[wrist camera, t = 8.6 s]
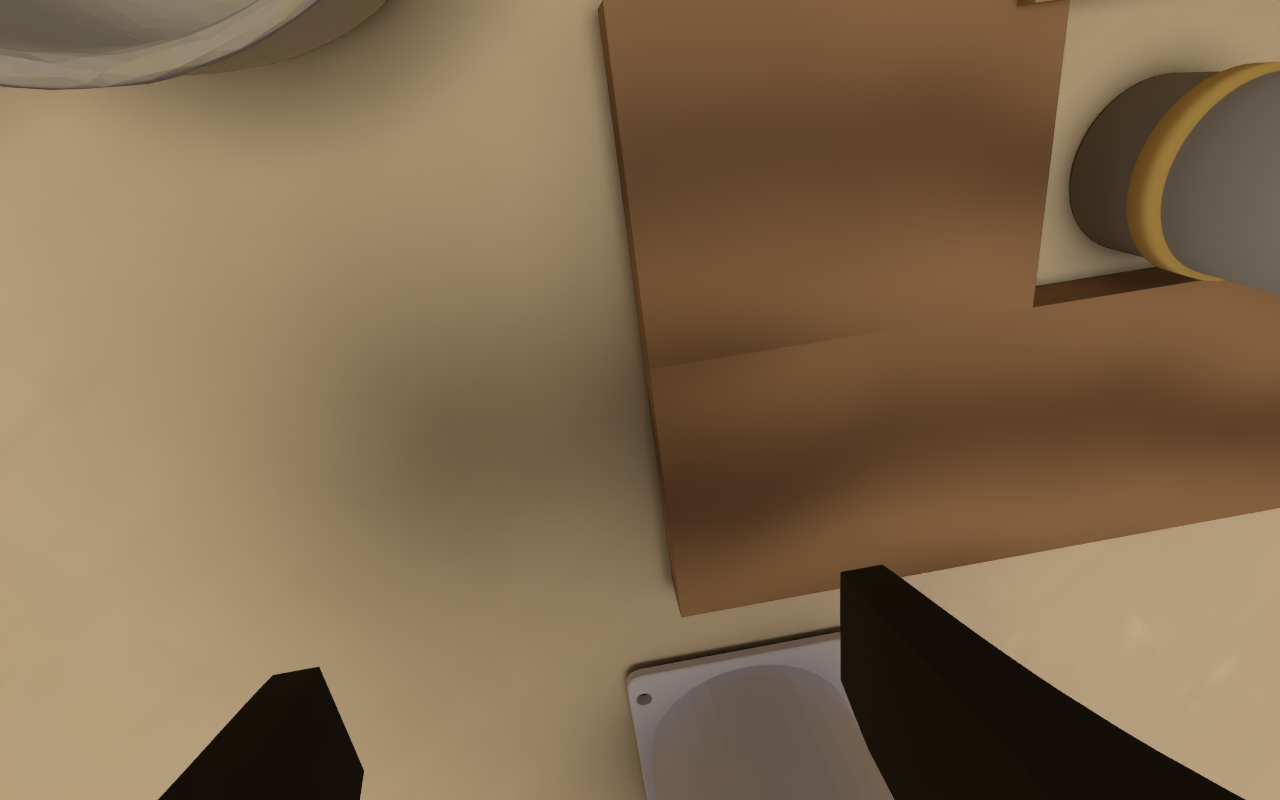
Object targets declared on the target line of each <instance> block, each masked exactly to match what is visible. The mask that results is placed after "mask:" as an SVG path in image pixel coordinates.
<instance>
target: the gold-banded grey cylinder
mask: <svg viewBox="0 0 1280 800" xmlns="http://www.w3.org/2000/svg"><path fill="white" fill-rule="evenodd" d="M1070 202H1071V207H1072V212H1073V214H1074V217H1075V220H1076V222H1077V224H1078V225H1079V227H1080V229H1081V230H1082V231H1083V232H1084V233H1085V235H1086V236H1088V237H1089V238H1090V239H1091V240H1092V241H1094V242H1096V243H1098V244H1099V245H1102V246H1105V247H1107V248H1111V249H1115V250H1118V251H1122V252H1126V253H1129V254H1133V255H1137V256H1140V257H1144V258H1146V259H1147V260H1148V261H1149V262H1150V263H1152V264H1154V265H1155V266H1157V267H1159V268H1161V269H1164V270H1167V271H1170V272H1174V273H1177V274H1181V275H1184V276H1188V277H1191V278H1195V279H1199V280H1205V281H1223V280H1228V281H1231V282H1235V283H1239V284H1242V285H1246V286H1250V287H1253V288H1257V289H1261V290H1264V291H1268V292H1272V293H1275V294H1279V295H1280V62H1269V63H1252V64H1244V65H1240V66H1236V67H1232V68H1229V69H1227V70H1224V71H1222V72H1193V73H1171V74H1163V75H1159V76H1155V77H1152V78H1149V79H1147V80H1144V81H1142V82H1140V83H1138V84H1136V85H1135V86H1133V87H1131V88H1130V89H1128V90H1127V91H1125V92H1124V93H1122V94H1121V95H1120V96H1119V97H1117V98H1116V99H1115V100H1114V101H1113V102H1112V103H1111V104H1110V105H1109V106H1108V107H1107V108H1106V109H1105V110H1104V111H1103V112H1102V113H1101V114H1100V116H1099V117H1098V118H1097V119H1096V121H1095V122H1094V123H1093V125H1092V126H1091V128H1090V129H1089V131H1088V132H1087V134H1086V136H1085V138H1084V140H1083V142H1082V144H1081V146H1080V148H1079V150H1078V153H1077V155H1076V158H1075V162H1074V165H1073V169H1072V174H1071V180H1070Z"/></svg>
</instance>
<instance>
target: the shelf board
mask: <svg viewBox="0 0 1280 800" xmlns="http://www.w3.org/2000/svg"><path fill="white" fill-rule="evenodd" d="M1069 4H1070V0H602V2H601V4H600V6H599V8H598V13H599V21H600V29H601V36H602V44H603V52H604V59H605V67H606V75H607V82H608V90H609V98H610V105H611V113H612V121H613V128H614V136H615V143H616V151H617V159H618V166H619V174H620V182H621V189H622V197H623V205H624V212H625V220H626V228H627V235H628V243H629V251H630V258H631V266H632V274H633V281H634V289H635V297H636V304H637V312H638V319H639V327H640V335H641V342H642V350H643V358H644V365H645V373H646V381H647V388H648V396H649V404H650V411H651V419H652V427H653V434H654V442H655V450H656V457H657V465H658V472H659V480H660V488H661V495H662V503H663V511H664V518H665V526H666V534H667V541H668V549H669V557H670V564H671V572H672V580H673V586H674V590H675V594H676V598H677V602H678V606H679V610H680V614H681V617H686V616H692V615H697V614H703V613H708V612H714V611H719V610H725V609H730V608H735V607H741V606H746V605H752V604H757V603H763V602H768V601H774V600H779V599H785V598H790V597H795V596H801V595H806V594H812V593H817V592H823V591H828V590H834V589H839V588H840V572H843V571H848V570H854V569H859V568H865V567H870V566H876V565H881V564H883V565H884V566H885V567H887V568H888V569H890V570H891V571H892V572H894V573H895V574H896V575H898V576H899V577H905V576H910V575H916V574H921V573H926V572H932V571H937V570H943V569H948V568H954V567H959V566H965V565H970V564H976V563H981V562H986V561H992V560H997V559H1003V558H1008V557H1014V556H1019V555H1025V554H1030V553H1036V552H1041V551H1047V550H1052V549H1057V548H1063V547H1068V546H1074V545H1079V544H1085V543H1090V542H1096V541H1101V540H1107V539H1112V538H1117V537H1123V536H1128V535H1134V534H1139V533H1145V532H1150V531H1156V530H1161V529H1167V528H1172V527H1177V526H1183V525H1188V524H1194V523H1199V522H1205V521H1210V520H1216V519H1221V518H1227V517H1232V516H1238V515H1243V514H1248V513H1254V512H1259V511H1265V510H1270V509H1276V508H1280V295H1279V294H1275V293H1272V292H1268V291H1264V290H1261V289H1257V288H1253V287H1250V286H1246V285H1242V284H1239V283H1235V282H1231V281H1228V280H1223V281H1205V280H1199V279H1195V278H1191V277H1188V276H1184V275H1181V274H1177V273H1174V272H1170V271H1167V270H1164V269H1161V268H1159V267H1156V268H1150V269H1144V270H1137V271H1131V272H1125V273H1118V274H1112V275H1106V276H1100V277H1093V278H1087V279H1081V280H1075V281H1068V282H1062V283H1056V284H1049V285H1043V286H1037V287H1035V285H1036V277H1037V269H1038V260H1039V252H1040V244H1041V236H1042V227H1043V219H1044V211H1045V202H1046V194H1047V186H1048V178H1049V169H1050V161H1051V153H1052V145H1053V136H1054V128H1055V120H1056V111H1057V103H1058V95H1059V87H1060V78H1061V70H1062V62H1063V54H1064V45H1065V37H1066V29H1067V20H1068V12H1069Z"/></svg>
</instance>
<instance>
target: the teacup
mask: <svg viewBox="0 0 1280 800" xmlns="http://www.w3.org/2000/svg"><path fill="white" fill-rule="evenodd" d="M386 1H387V0H0V86H2V87H14V88H30V89H46V90H61V89H90V88H103V87H116V86H128V85H141V84H150V83H154V82H158V81H162V80H167V79H171V78H175V77H178V76H181V75H196V74H209V73H219V72H228V71H235V70H240V69H246V68H251V67H256V66H262V65H267V64H273V63H276V62H279V61H283V60H286V59H289V58H292V57H295V56H299V55H302V54H305V53H307V52H309V51H311V50H313V49H315V48H318V47H320V46H322V45H324V44H326V43H328V42H330V41H332V40H335V39H337V38H338V37H340V36H342V35H343V34H345V33H346V32H348V31H350V30H351V29H353V28H354V27H356V26H357V25H359V24H360V23H361V22H363V21H364V20H365V19H367V18H368V17H369V16H371V15H372V14H373V13H374V12H376V11H377V10H378V9H379V8H380V7H381V6H382V5H383V4H384V3H385V2H386Z"/></svg>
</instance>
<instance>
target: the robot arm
mask: <svg viewBox="0 0 1280 800" xmlns="http://www.w3.org/2000/svg"><path fill="white" fill-rule="evenodd" d="M626 684H627V692H628V697H629V703H630V708H631V714H632V719H633V725H634V730H635V736H636V741H637V747H638V752H639V758H640V763H641V769H642V775H643V780H644V786H645V791H646V797H647V800H893V798H894V800H1245V799H1243V798H1241V797H1239V796H1238V795H1236V794H1234V793H1232V792H1230V791H1228V790H1227V789H1225V788H1223V787H1221V786H1219V785H1218V784H1216V783H1214V782H1212V781H1210V780H1209V779H1207V778H1205V777H1203V776H1201V775H1200V774H1198V773H1196V772H1194V771H1193V770H1191V769H1189V768H1187V767H1185V766H1184V765H1182V764H1180V763H1178V762H1176V761H1175V760H1173V759H1171V758H1169V757H1167V756H1166V755H1164V754H1162V753H1160V752H1158V751H1157V750H1155V749H1153V748H1152V747H1150V746H1148V745H1147V744H1145V743H1143V742H1142V741H1140V740H1138V739H1136V738H1135V737H1133V736H1131V735H1130V734H1128V733H1126V732H1125V731H1123V730H1121V729H1120V728H1118V727H1116V726H1115V725H1113V724H1112V723H1110V722H1109V721H1107V720H1105V719H1104V718H1102V717H1101V716H1099V715H1097V714H1096V713H1094V712H1093V711H1091V710H1089V709H1088V708H1086V707H1085V706H1083V705H1082V704H1080V703H1078V702H1077V701H1075V700H1074V699H1072V698H1070V697H1069V696H1067V695H1066V694H1064V693H1062V692H1061V691H1059V690H1058V689H1056V688H1055V687H1053V686H1052V685H1050V684H1049V683H1047V682H1046V681H1044V680H1043V679H1041V678H1040V677H1038V676H1037V675H1035V674H1034V673H1032V672H1031V671H1029V670H1028V669H1026V668H1025V667H1024V666H1022V665H1021V664H1019V663H1018V662H1016V661H1015V660H1013V659H1012V658H1011V657H1009V656H1008V655H1006V654H1005V653H1003V652H1002V651H1001V650H999V649H998V648H996V647H995V646H993V645H992V644H990V643H989V642H988V641H986V640H985V639H983V638H982V637H981V636H979V635H978V634H976V633H975V632H974V631H972V630H971V629H970V628H968V627H967V626H965V625H964V624H963V623H961V622H960V621H959V620H957V619H956V618H954V617H953V616H952V615H950V614H949V613H948V612H946V611H945V610H944V609H942V608H941V607H940V606H938V605H937V604H935V603H934V602H933V601H931V600H930V599H929V598H927V597H926V596H925V595H923V594H922V593H921V592H919V591H918V590H917V589H915V588H914V587H913V586H911V585H910V584H909V583H907V582H906V581H904V580H903V579H902V578H900V577H899V576H898V575H896V574H895V573H894V572H892V571H891V570H890V569H888V568H887V567H885V566H884V565H883V564H881V565H876V566H870V567H865V568H859V569H854V570H848V571H843V572H840V632H836V633H830V634H825V635H820V636H814V637H809V638H804V639H798V640H793V641H788V642H782V643H777V644H772V645H766V646H761V647H756V648H750V649H745V650H740V651H734V652H729V653H724V654H718V655H713V656H707V657H702V658H697V659H691V660H686V661H681V662H675V663H670V664H665V665H659V666H654V667H649V668H643V669H639V670H636V671H633V672H632V673H631V674H629V676H628V677H627V681H626ZM641 694H647V695H645V696H639V695H641ZM860 730H861V732H860ZM861 733H862V735H863V737H862V735H861ZM863 738H864V739H863ZM864 740H865V741H864ZM865 742H866V743H865ZM363 775H364V770H363V767H362V765H361V763H360V760H359V758H358V756H357V753H356V751H355V749H354V746H353V744H352V742H351V740H350V737H349V735H348V733H347V730H346V728H345V726H344V723H343V721H342V719H341V716H340V714H339V712H338V709H337V707H336V705H335V702H334V700H333V698H332V695H331V693H330V691H329V688H328V686H327V684H326V682H325V679H324V677H323V675H322V672H321V670H320V668H319V667H315V668H310V669H304V670H299V671H293V672H288V673H282V674H277V675H273V676H272V677H271V678H270V679H269V680H268V681H267V682H266V683H265V684H264V685H263V686H262V687H261V688H260V689H259V690H258V691H257V692H256V693H255V694H254V695H253V696H252V698H251V699H250V700H249V701H248V702H247V703H246V704H245V705H244V706H243V707H242V708H241V709H240V711H239V712H238V713H237V714H236V715H235V716H234V717H233V718H232V719H231V720H230V722H229V723H228V724H227V725H226V726H225V727H224V728H223V729H222V730H221V731H220V733H219V734H218V735H217V736H216V737H215V738H214V739H213V740H212V741H211V743H210V744H209V745H208V746H207V747H206V748H205V749H204V750H203V751H202V752H201V754H200V755H199V756H198V757H197V758H196V759H195V760H194V761H193V762H192V763H191V765H190V766H189V767H188V768H187V769H186V770H185V771H184V772H183V773H182V774H181V775H180V777H179V778H178V779H177V780H176V781H175V782H174V783H173V784H172V785H171V786H170V787H169V788H168V790H167V791H166V792H165V793H164V794H163V795H162V796H161V797H160V798H159V799H158V800H360V795H361V788H362V781H363ZM886 784H887V785H886ZM887 786H888V787H887ZM888 788H889V789H888ZM889 790H890V791H889ZM890 792H891V794H892V796H893V798H892V796H891V794H890Z"/></svg>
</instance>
